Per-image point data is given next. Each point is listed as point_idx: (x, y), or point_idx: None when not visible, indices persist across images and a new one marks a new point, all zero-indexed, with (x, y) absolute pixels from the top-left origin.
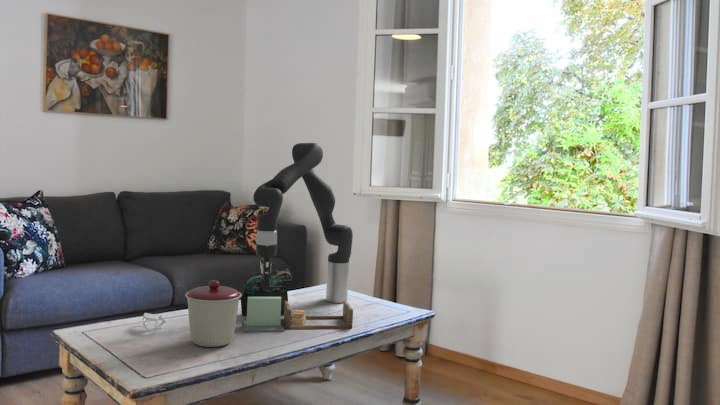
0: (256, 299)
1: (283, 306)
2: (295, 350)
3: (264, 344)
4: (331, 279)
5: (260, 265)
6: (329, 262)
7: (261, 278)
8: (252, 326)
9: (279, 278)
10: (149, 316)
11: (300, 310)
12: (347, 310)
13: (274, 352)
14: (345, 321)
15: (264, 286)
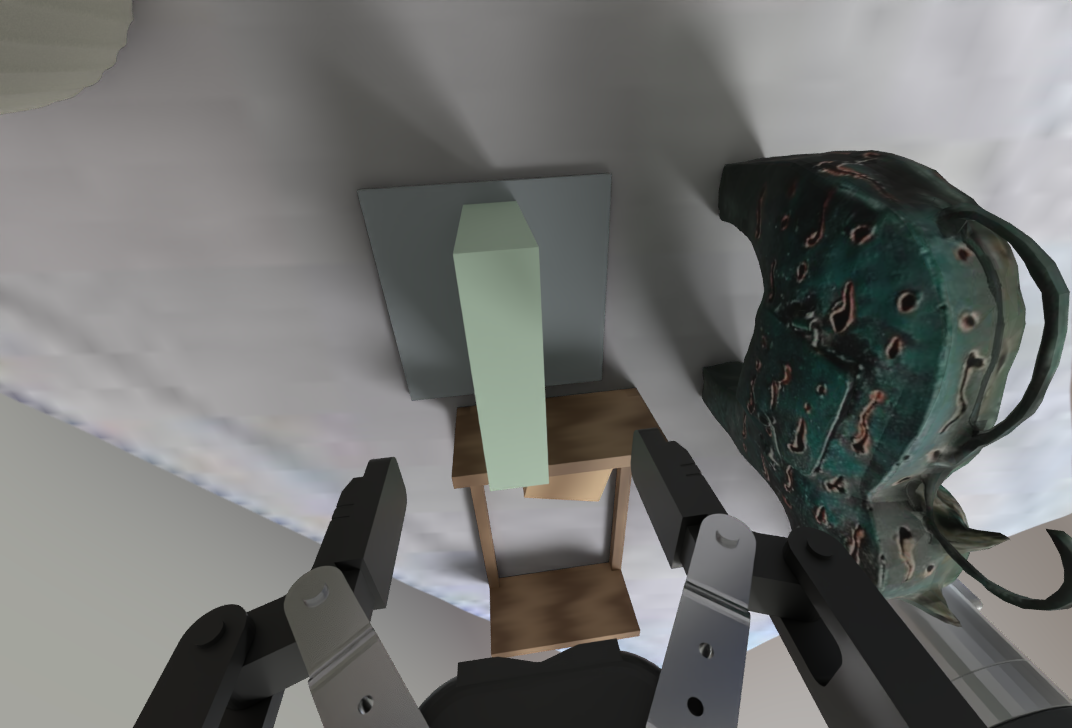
0: (466, 328)
1: (719, 408)
2: (118, 447)
3: (141, 315)
4: (915, 620)
5: (744, 662)
6: (1027, 710)
7: (676, 463)
8: (450, 240)
9: (845, 523)
10: None
11: (595, 486)
12: (547, 626)
13: (21, 367)
14: (565, 572)
15: (341, 497)
